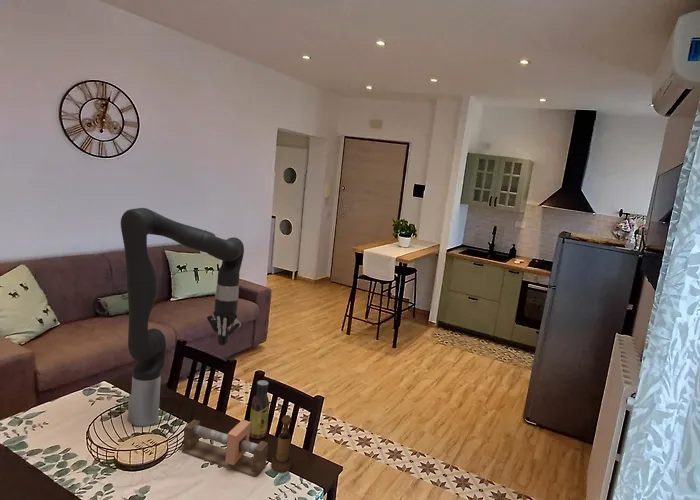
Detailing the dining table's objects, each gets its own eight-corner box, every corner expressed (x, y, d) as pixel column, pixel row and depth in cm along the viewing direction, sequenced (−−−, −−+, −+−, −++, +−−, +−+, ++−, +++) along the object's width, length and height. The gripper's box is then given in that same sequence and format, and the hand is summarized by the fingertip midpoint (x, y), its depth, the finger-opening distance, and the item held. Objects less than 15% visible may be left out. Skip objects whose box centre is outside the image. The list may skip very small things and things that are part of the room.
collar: (225, 462, 150) (227, 433, 148) (239, 447, 158) (242, 419, 156) (233, 465, 149) (236, 436, 147) (248, 449, 157) (250, 422, 156)
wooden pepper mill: (274, 474, 151) (280, 423, 147) (268, 462, 156) (273, 412, 153) (294, 470, 154) (300, 420, 150) (287, 458, 160) (293, 409, 156)
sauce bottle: (262, 441, 167) (267, 389, 163) (245, 437, 168) (250, 385, 164) (269, 431, 173) (274, 380, 169) (252, 427, 174) (257, 377, 170)
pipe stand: (181, 452, 156) (182, 428, 154) (194, 441, 162) (195, 417, 161) (256, 478, 148) (259, 453, 147) (267, 465, 155) (269, 441, 153)
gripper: (203, 295, 160) (199, 343, 163) (238, 303, 156) (233, 353, 160) (216, 290, 167) (212, 336, 170) (249, 298, 163) (245, 345, 167)
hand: (222, 344), depth 165 cm, fingers closed
